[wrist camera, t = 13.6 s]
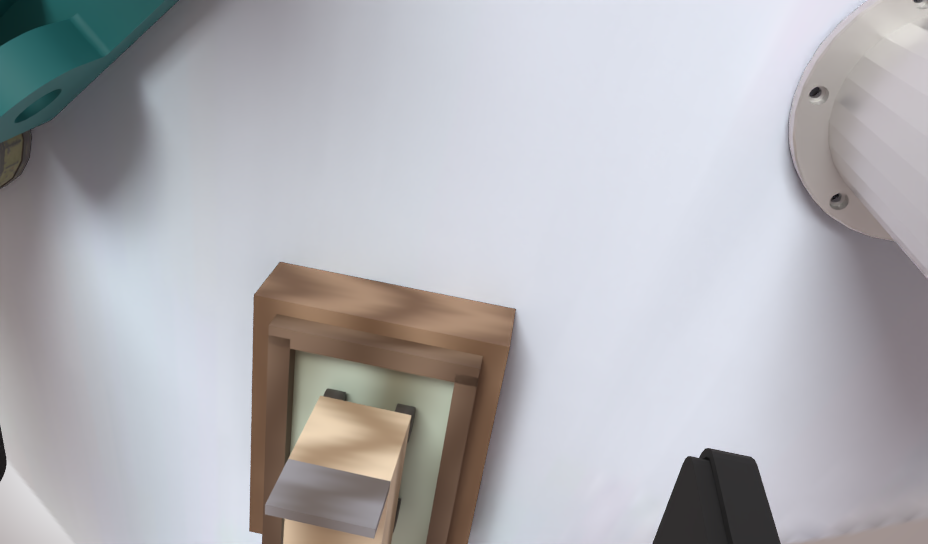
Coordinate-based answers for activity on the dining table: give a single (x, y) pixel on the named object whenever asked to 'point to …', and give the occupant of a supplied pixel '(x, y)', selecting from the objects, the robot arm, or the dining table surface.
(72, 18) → the bracket
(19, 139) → the thermos
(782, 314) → the dining table surface
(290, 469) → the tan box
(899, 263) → the dining table surface
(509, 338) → the dock
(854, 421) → the dining table surface
